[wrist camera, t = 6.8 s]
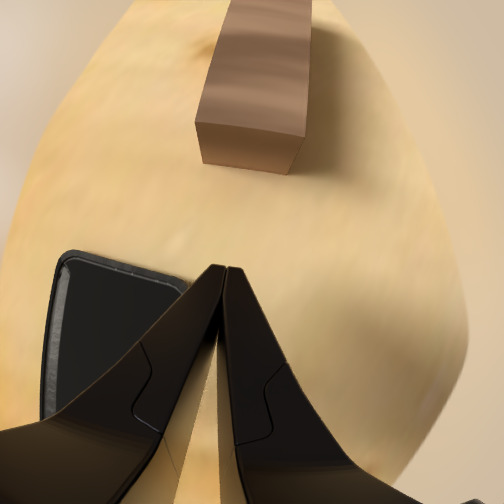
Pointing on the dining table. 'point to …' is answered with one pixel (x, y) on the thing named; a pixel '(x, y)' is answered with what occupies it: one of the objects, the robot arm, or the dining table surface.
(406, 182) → the dining table surface
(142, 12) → the dining table surface
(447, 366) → the dining table surface
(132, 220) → the dining table surface
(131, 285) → the phone
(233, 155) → the walnut block
